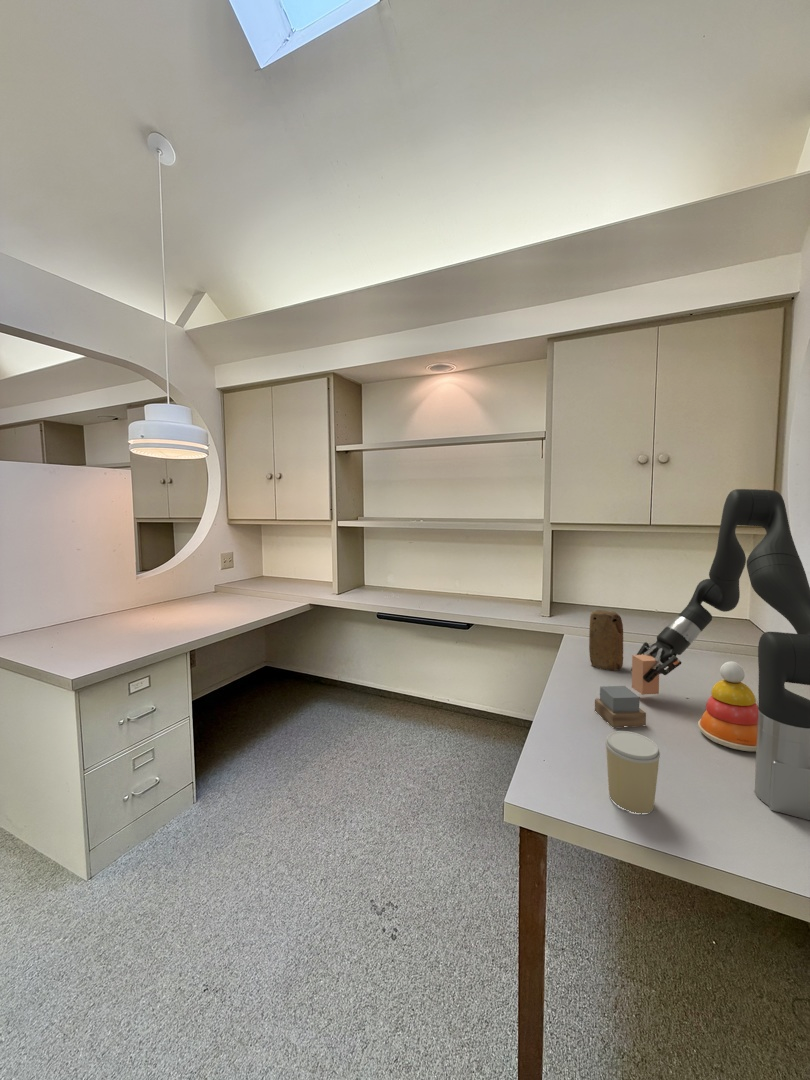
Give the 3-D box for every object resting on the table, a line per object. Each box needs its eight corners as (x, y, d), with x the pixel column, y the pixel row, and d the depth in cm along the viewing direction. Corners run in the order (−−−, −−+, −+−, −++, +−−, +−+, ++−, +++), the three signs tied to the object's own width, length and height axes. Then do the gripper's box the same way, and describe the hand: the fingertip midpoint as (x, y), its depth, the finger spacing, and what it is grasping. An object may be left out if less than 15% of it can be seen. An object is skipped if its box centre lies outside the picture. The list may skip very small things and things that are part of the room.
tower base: (645, 727, 109) (646, 712, 109) (612, 729, 108) (613, 714, 108) (625, 710, 118) (625, 697, 118) (594, 712, 117) (594, 699, 117)
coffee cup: (639, 784, 87) (641, 729, 86) (669, 817, 77) (671, 756, 76) (595, 786, 86) (596, 730, 85) (620, 819, 77) (621, 758, 76)
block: (587, 666, 149) (587, 612, 148) (593, 660, 155) (594, 607, 153) (620, 673, 142) (621, 616, 141) (625, 666, 148) (626, 612, 147)
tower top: (639, 711, 109) (639, 697, 109) (613, 712, 109) (613, 698, 109) (624, 699, 116) (624, 685, 116) (599, 700, 116) (600, 686, 116)
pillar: (658, 693, 121) (659, 660, 120) (642, 694, 121) (643, 661, 120) (647, 686, 126) (648, 654, 125) (631, 687, 126) (632, 655, 125)
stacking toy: (763, 732, 105) (767, 657, 103) (778, 763, 92) (783, 678, 91) (695, 719, 112) (697, 648, 110) (700, 745, 100) (703, 667, 98)
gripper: (653, 620, 130) (616, 659, 130) (688, 633, 115) (646, 678, 115) (669, 636, 130) (632, 675, 130) (706, 651, 116) (664, 695, 116)
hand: (639, 676), depth 123 cm, fingers closed on pillar, 5 cm apart
